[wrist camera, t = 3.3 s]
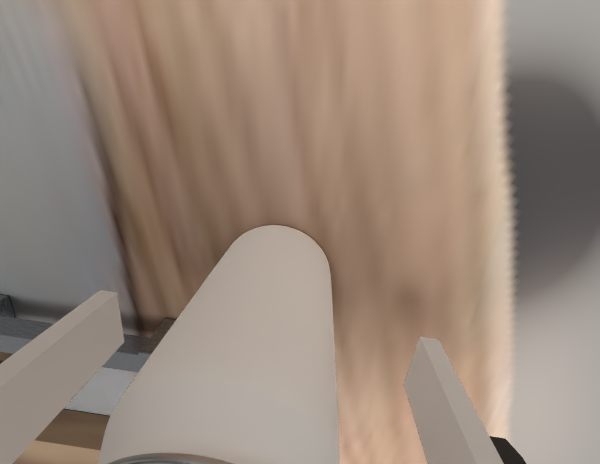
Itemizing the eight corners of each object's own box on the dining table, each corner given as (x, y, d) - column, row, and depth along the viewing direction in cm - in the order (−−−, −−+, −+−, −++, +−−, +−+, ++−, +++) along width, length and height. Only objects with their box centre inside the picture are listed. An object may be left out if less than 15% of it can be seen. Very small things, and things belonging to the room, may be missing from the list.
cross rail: (-17, 292, 20) (-75, 321, 17) (191, 321, 19) (168, 356, 16) (-9, 313, 20) (-63, 344, 18) (192, 341, 20) (170, 379, 17)
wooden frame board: (-78, 285, 20) (-131, 307, 18) (257, 333, 19) (248, 362, 17) (-4, 447, 27) (-35, 478, 24) (247, 486, 26) (239, 522, 24)
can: (254, 201, 16) (93, 394, 5) (351, 256, 17) (410, 532, 6) (210, 284, 18) (30, 547, 7) (297, 329, 19) (260, 629, 8)
